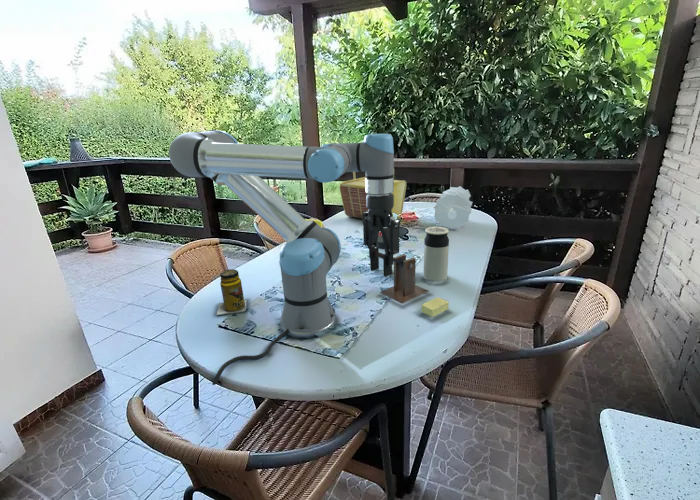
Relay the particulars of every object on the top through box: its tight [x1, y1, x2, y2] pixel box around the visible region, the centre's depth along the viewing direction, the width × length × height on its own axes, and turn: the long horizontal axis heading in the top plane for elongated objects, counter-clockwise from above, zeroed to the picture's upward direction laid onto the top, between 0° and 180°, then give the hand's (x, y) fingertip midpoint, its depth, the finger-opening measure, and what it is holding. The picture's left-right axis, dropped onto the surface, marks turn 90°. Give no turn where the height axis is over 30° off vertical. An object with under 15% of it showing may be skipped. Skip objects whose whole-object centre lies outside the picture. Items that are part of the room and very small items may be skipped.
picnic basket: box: [338, 172, 407, 220], centre depth 202 cm, size 29×26×30 cm
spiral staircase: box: [433, 185, 474, 230], centre depth 185 cm, size 18×18×25 cm
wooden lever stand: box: [379, 253, 430, 305], centre depth 114 cm, size 12×10×13 cm
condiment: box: [216, 268, 247, 316], centre depth 111 cm, size 7×8×12 cm
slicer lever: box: [373, 251, 407, 267], centre depth 109 cm, size 13×5×2 cm, turn 127°
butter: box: [420, 296, 450, 318], centre depth 104 cm, size 7×4×4 cm, turn 128°
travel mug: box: [422, 226, 450, 283], centre depth 123 cm, size 8×8×18 cm
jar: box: [375, 235, 399, 272], centre depth 134 cm, size 9×8×12 cm
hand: (381, 272), depth 107 cm, fingers closed on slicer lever, 5 cm apart
